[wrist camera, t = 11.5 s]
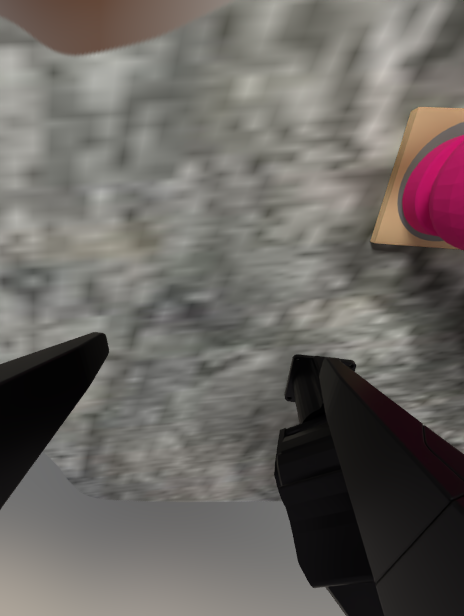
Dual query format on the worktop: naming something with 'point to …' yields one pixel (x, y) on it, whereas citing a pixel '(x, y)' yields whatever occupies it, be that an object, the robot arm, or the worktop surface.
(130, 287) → the worktop surface
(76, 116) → the worktop surface
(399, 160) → the dock
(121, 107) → the worktop surface
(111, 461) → the worktop surface
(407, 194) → the pepper mill
